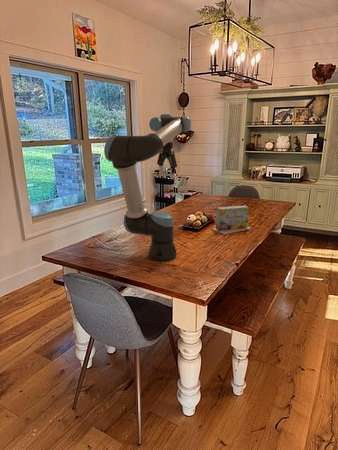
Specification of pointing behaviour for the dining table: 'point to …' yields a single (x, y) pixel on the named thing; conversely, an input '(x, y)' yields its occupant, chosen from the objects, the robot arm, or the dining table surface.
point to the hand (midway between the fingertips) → (166, 177)
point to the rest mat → (230, 230)
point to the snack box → (232, 217)
